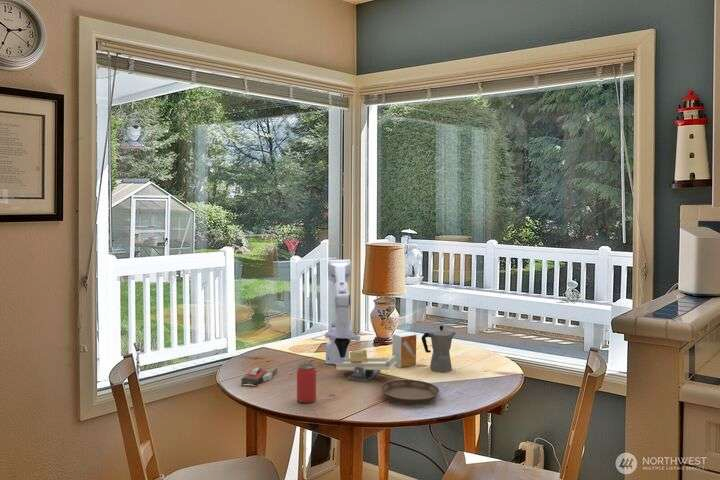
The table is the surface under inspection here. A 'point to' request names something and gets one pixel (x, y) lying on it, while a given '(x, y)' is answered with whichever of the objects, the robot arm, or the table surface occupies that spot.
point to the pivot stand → (362, 374)
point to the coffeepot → (439, 349)
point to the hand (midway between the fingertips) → (342, 357)
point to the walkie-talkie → (257, 376)
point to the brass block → (358, 356)
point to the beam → (368, 364)
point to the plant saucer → (409, 391)
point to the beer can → (306, 383)
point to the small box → (404, 349)
